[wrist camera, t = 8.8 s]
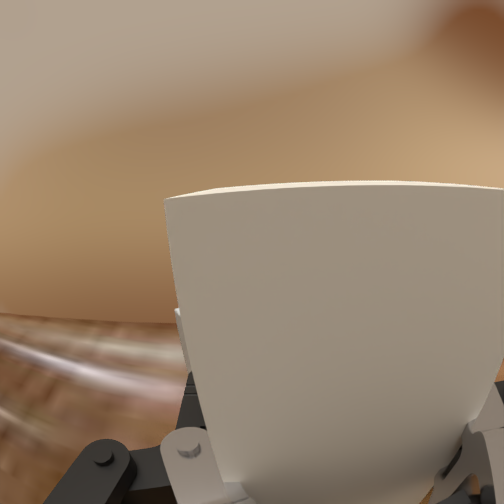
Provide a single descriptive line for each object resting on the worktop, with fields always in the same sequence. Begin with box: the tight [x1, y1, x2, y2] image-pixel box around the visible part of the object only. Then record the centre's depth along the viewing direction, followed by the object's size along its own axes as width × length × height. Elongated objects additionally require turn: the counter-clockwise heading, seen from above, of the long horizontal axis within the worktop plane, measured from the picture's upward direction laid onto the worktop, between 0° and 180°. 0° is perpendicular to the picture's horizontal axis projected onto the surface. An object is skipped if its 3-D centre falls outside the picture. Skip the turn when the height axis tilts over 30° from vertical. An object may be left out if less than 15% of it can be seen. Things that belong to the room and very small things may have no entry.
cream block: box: [164, 181, 504, 504], centre depth 7 cm, size 6×6×13 cm
